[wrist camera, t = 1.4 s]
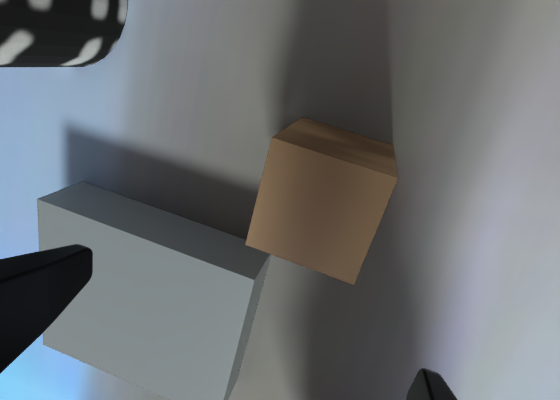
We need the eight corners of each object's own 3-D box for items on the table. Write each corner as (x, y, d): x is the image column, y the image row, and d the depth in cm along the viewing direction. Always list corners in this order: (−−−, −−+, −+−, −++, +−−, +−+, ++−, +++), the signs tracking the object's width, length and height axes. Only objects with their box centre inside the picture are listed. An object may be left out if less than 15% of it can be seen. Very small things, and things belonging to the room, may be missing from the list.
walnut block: (393, 145, 19) (398, 178, 13) (360, 226, 21) (353, 285, 15) (302, 117, 19) (271, 137, 14) (279, 198, 21) (245, 244, 16)
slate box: (274, 246, 23) (254, 280, 19) (239, 375, 28) (217, 421, 24) (86, 179, 25) (37, 198, 21) (84, 310, 30) (43, 344, 26)
